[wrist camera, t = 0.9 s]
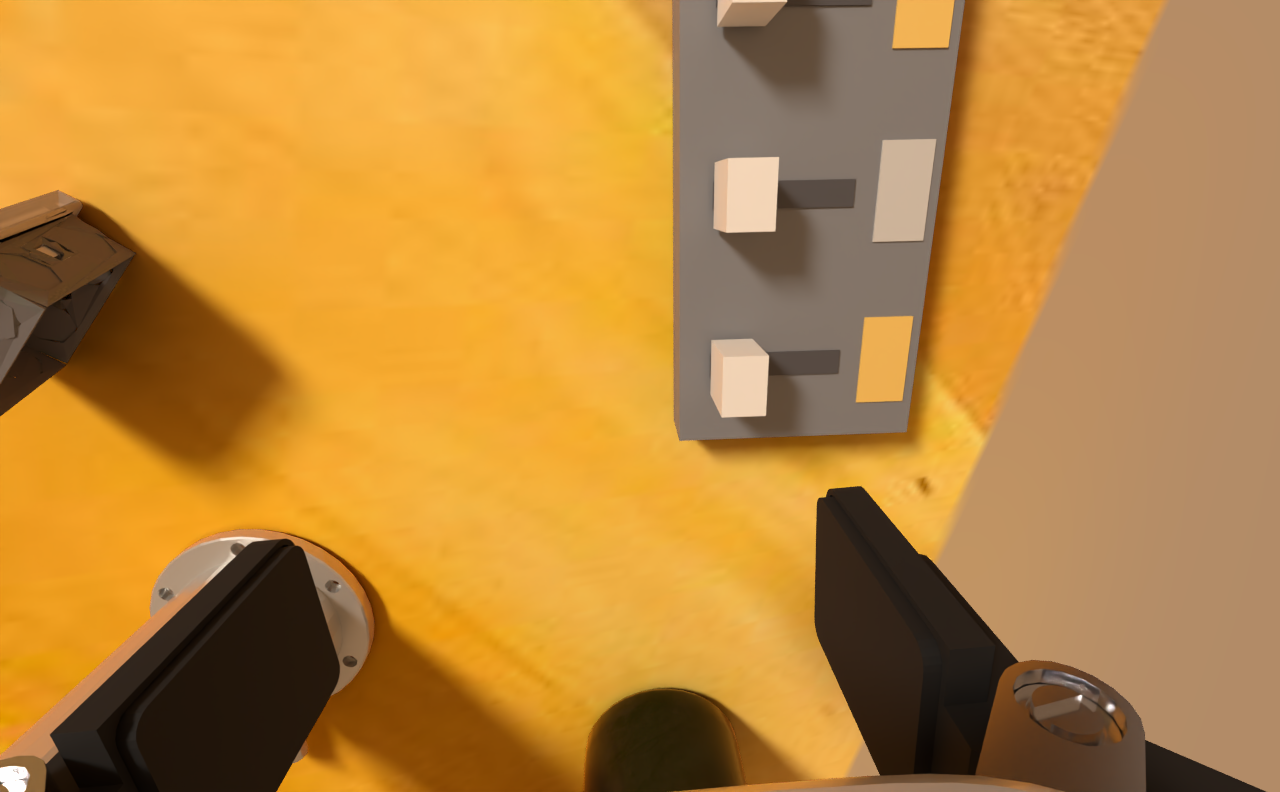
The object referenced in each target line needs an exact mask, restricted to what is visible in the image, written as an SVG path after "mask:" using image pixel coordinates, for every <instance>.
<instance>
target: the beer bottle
mask: <svg viewBox="0 0 1280 792" xmlns="http://www.w3.org/2000/svg"><path fill="white" fill-rule="evenodd" d="M742 785H747V783H746V778H745V774H744V769H743V764H742V760H741V755H740V751H739V746H738V743H737V739H736V736H735V732H734V729H733V727H732V725H731V723H730V721H729V719H728V718H727V717H726V716H725V715H724V713H723V712H722V711H721V710H720V709H719V708H718V707H717V706H715V705H714V704H713V703H711V702H710V701H709V700H707V699H705V698H703V697H701V696H699V695H697V694H694V693H691V692H687V691H684V690H676V689H652V690H648V691H643V692H638V693H636V694H633V695H630V696H628V697H625V698H623V699H622V700H620V701H618V702H617V703H615V704H613V705H612V706H611V707H610V708H609V709H607V710H606V711H605V712H604V713H603V714H602V715H601V717H600V718H599V719H598V721H597V722H596V723H595V725H594V726H593V728H592V730H591V732H590V734H589V736H588V740H587V745H586V753H585V763H584V783H583V792H676V791H687V790H698V789H709V788H720V787H731V786H742Z"/></svg>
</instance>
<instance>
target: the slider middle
mask: <svg viewBox="0 0 1280 792" xmlns="http://www.w3.org/2000/svg"><path fill="white" fill-rule="evenodd" d="M778 170H779V157H755V158H727V159H724V160H721V161H718V162H715V171H714V226H713V229H716V230H720V231H723V232H726V233H733V232H773V231H775V229H776V210H777V190H778Z"/></svg>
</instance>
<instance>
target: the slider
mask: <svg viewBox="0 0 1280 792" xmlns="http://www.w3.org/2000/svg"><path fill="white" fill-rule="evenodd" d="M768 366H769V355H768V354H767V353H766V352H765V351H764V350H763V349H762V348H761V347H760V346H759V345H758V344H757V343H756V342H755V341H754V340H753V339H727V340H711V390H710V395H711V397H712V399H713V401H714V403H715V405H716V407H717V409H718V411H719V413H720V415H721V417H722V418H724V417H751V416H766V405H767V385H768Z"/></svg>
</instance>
